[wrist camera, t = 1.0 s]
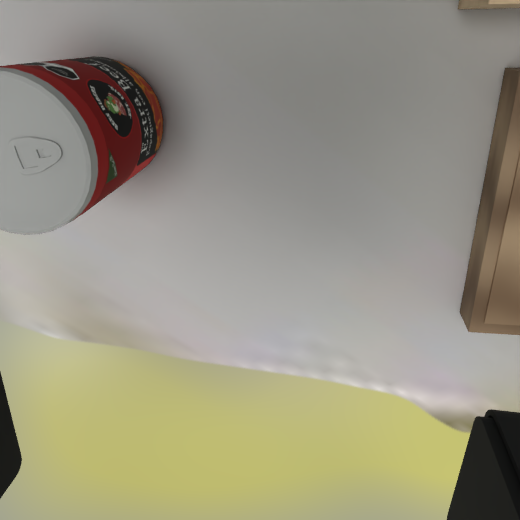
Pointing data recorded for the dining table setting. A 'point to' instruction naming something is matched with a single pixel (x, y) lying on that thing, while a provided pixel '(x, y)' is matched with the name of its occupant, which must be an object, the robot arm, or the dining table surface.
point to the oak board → (498, 227)
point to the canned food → (70, 138)
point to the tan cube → (488, 4)
